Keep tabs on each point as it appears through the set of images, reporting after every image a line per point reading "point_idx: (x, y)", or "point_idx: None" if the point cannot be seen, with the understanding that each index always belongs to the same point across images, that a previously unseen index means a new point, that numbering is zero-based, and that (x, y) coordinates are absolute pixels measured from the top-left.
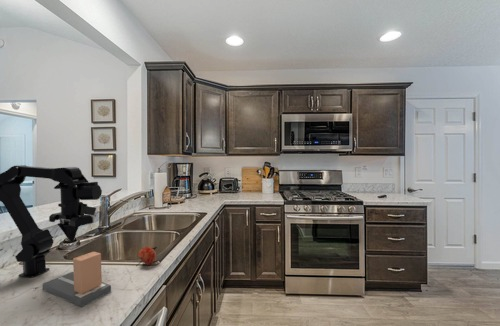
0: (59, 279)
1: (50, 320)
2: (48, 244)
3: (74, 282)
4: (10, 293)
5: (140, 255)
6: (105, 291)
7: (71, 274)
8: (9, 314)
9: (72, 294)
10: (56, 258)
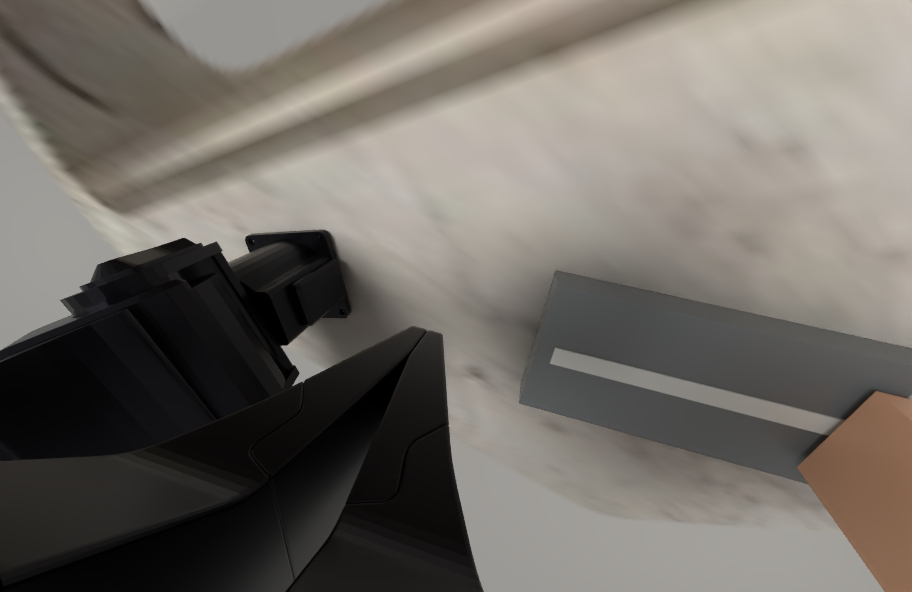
0: (568, 367)
1: (778, 525)
2: (217, 336)
3: (837, 516)
4: None
5: None
6: None
7: (586, 315)
8: (576, 495)
9: (796, 472)
10: (164, 83)
